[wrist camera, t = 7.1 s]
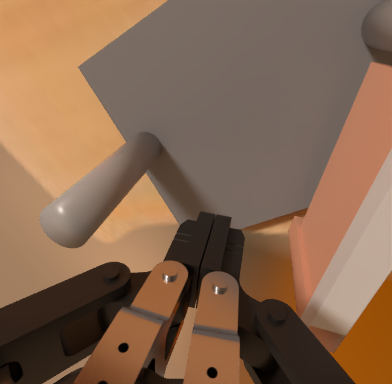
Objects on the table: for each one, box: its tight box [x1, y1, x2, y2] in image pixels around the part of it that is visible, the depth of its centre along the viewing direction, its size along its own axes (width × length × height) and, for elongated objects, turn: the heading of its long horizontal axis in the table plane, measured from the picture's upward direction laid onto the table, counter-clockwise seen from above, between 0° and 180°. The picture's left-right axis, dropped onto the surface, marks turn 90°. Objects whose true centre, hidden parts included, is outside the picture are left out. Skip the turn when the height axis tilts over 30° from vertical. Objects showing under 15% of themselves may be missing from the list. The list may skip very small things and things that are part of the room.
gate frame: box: [40, 0, 392, 248], centre depth 13 cm, size 18×14×10 cm
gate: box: [288, 62, 392, 353], centre depth 13 cm, size 10×1×8 cm, turn 169°
